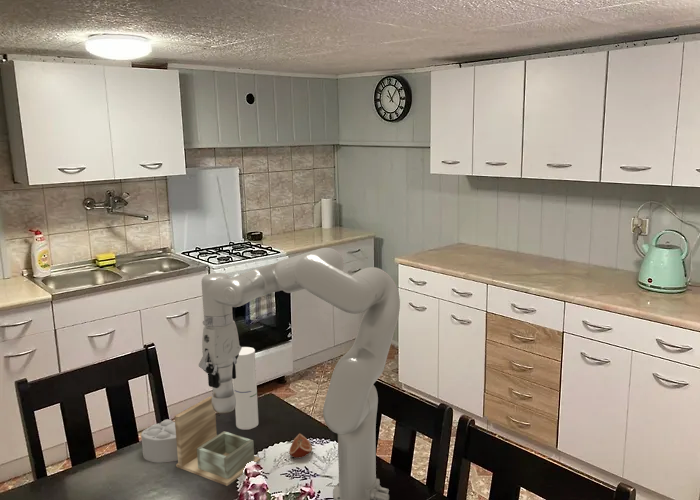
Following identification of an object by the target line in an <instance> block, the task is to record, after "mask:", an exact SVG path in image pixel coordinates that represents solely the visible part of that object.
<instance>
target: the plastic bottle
mask: <svg viewBox="0 0 700 500" xmlns="http://www.w3.org/2000/svg"><path fill="white" fill-rule="evenodd" d="M211 368H212V369H213V364H211ZM232 369H233V358H231V359H228V360H227V361H225V362H224V363H221V364H219V365H218V367H217V371H216V373H217V374H218V380H219V387H218V388H214V387H212V396H211V397H212V407H213V409H214V411H215V413H219V414H227V413H230V412H232V411H234V410H235V406H236V397H235V394H234V382H233V379H232Z"/></svg>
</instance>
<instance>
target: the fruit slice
mask: <svg viewBox="0 0 700 500" xmlns="http://www.w3.org/2000/svg"><path fill="white" fill-rule="evenodd" d="M288 451H289V452H288V454H289V455H290V456H291V457H292V458H296V459H300V458H303V457H307V456H308V455H309V454H311V452H312V451H313V446H312V443H311V441H310V440H309V439H308V438H307V437H305V435H303V434H302V433H300V432H299V433H298V434H297V435H296V436H295V437H294V438H293V440H292V443H291V445H290V448H289V450H288Z"/></svg>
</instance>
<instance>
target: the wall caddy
mask: <svg viewBox="0 0 700 500" xmlns="http://www.w3.org/2000/svg"><path fill="white" fill-rule="evenodd" d="M173 417H174V422H175V429H176V441H177V454H178V460H177V463H176V464H175V467H176V468H178V469H181V470H184V471H186V472H189V473H192V474H194V475H197V476H200V477H202V478H205V479H208V480H211V481H213V482H216V483H217V484H221V485H224V486H226V487H228V486H230V485H231V484H232V483H233V482H235V481H236V480H237V479H238V478H240V477H241V476H242V475H243V474H242V473H243V470H244V468H245V466H246V464H247V463H249V462H251V461H254V462H258V461H259V462H261V461H260V460H261V457H259V456H256V455H255V449H254V448H255V447H254V443H255V442H254V440H253V439H251V438H247V437H244V436H242V435H237V434H234V433H231V432H229V431H222V432H220V433H219V434H217V421H216V420H217V417H216V412H215V411H214V409H213V407H212V396H211V395H210V396H207V397H206V398H204V399H203V400H201V401H199V402H197V403H196V404H193V405H192V406H190V407H188V408H186V409H184V410H183V411H181V412H179V413H177V414H174V416H173ZM259 462H258V463H259Z"/></svg>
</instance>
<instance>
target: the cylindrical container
mask: <svg viewBox="0 0 700 500" xmlns="http://www.w3.org/2000/svg"><path fill="white" fill-rule="evenodd" d="M241 347H242V348H241V350H240V353H239V356H238V358H237V363H236V364H235V367H236V378H235V379H232V381H233V389H234V394H235V397H236V406H235V408H234V410H235V426H236V428H237V429H239V430H251V429H254V428H257V426H258V425H259V408H258V389H257V369H256V349H255V348H254V347H250V346H241Z"/></svg>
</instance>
